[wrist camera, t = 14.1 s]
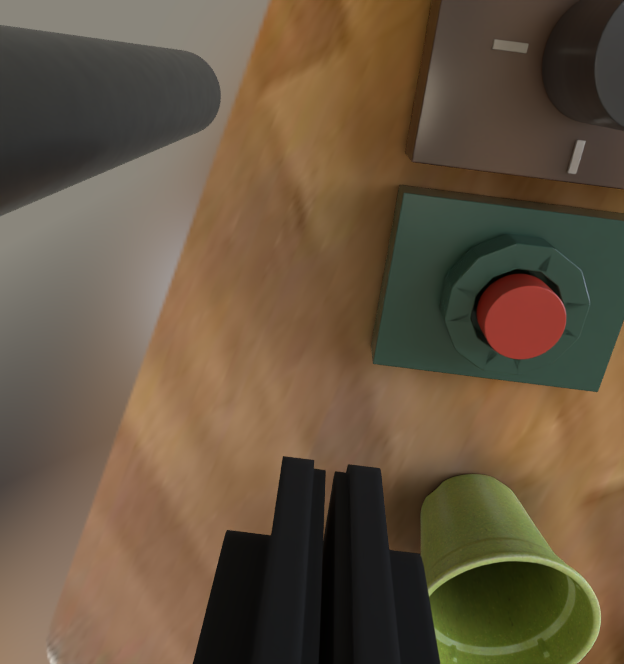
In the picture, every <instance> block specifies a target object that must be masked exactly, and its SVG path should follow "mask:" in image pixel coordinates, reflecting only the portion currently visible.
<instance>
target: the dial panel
mask: <svg viewBox="0 0 624 664" xmlns="http://www.w3.org/2000/svg"><path fill="white" fill-rule="evenodd" d="M579 1H580V0H432V3H431V8H430V14H429V20H428V25H427V31H426V37H425V42H424V48H423V54H422V59H421V65H420V71H419V76H418V82H417V88H416V93H415V99H414V105H413V110H412V116H411V122H410V127H409V133H408V139H407V144H406V150H405V154H406V155H407V156H408V157H409V159H410V160H411V161H412V162H416V163H423V164H431V165H439V166H447V167H455V168H462V169H470V170H478V171H486V172H493V173H501V174H509V175H517V176H524V177H532V178H540V179H548V180H556V181H563V182H571V183H579V184H587V185H594V186H602V187H610V188H618V189H624V131H621V130H616V129H612V128H607V127H602V126H597V125H592V124H587V123H583V122H578V121H575V120H573V119H571V118H569V117H567V116H565V115H564V114H563V113H561V112H560V111H559V110H558V109H557V108H556V107H555V106H554V105H553V103H552V102H551V100H550V99H549V97H548V95H547V92H546V90H545V87H544V83H543V77H542V62H543V55H544V50H545V47H546V44H547V41H548V39H549V37H550V34H551V32H552V31H553V29H554V27H555V25H556V24H557V23H558V21H559V20H560V19H561V17H562V16H563V15H564V14H565V13H566V12H567V11H568V10H569V9H570V8H571V7H572V6H573V5H574V4H576V3H577V2H579Z"/></svg>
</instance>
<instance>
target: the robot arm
mask: <svg viewBox="0 0 624 664" xmlns="http://www.w3.org/2000/svg"><path fill="white" fill-rule="evenodd" d="M325 474H326V471H325V470H320V469H314V460H309V459H301V458H293V457H285V456H283V459H282V466H281V473H280V480H279V486H278V493H277V500H276V507H275V513H274V520H273V527H272V534H271V535H263V534H255V533H247V532H239V531H231V530H227V531H226V534H225V537H224V541H223V545H222V549H221V553H220V557H219V561H218V565H217V569H216V573H215V577H214V581H213V585H212V589H211V593H210V597H209V601H208V605H207V609H206V613H205V617H204V621H203V625H202V629H201V633H200V637H199V641H198V645H197V649H196V653H195V658H194V662H193V664H440V658H439V652H438V646H437V640H436V634H435V629H434V623H433V617H432V611H431V605H430V599H429V593H428V588H427V582H426V576H425V570H424V565H423V561H422V557H421V556H420V554H417V553H409V552H401V551H393V550H389V544H388V534H387V525H386V515H385V505H384V496H383V486H382V476H381V470H380V468H373V467H365V466H357V465H348V467H347V471H346V473H344V472H336V471H335V474H334V479H333V485H332V491H331V497H330V503H329V509H328V515H327V521H326V528H325V534H324V540H323V531H324V502H325Z"/></svg>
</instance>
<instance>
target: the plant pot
mask: <svg viewBox="0 0 624 664" xmlns="http://www.w3.org/2000/svg"><path fill="white" fill-rule="evenodd" d="M420 516H421V557H422V561H423V565H424V570H425V576H426V582H427V588H428V593H429V599H430V605H431V611H432V617H433V623H434V629H435V634H436V640H437V646H438V652H439V658H440V664H577V663H578V662H580V661H581V660H582V659H583V657H585V655H586V654H587V653H588V652H589V650H590V649H591V648H592V646H593V644H594V642H595V641H596V638H597V636H598V633H599V629H600V624H601V612H600V606H599V603H598V600H597V598H596V595H595V593H594V591H593V590H592V588H591V587H590V585H589V584H588V583H587V581H586V580H585V579H584V578H583V577H582V576H581V575H580V574H579V573H578V572H577V571H575V570H574V569H573V568H571V567H570V566H568V565H566V564H565V563H564V562H563V561H562V560H561V559H560V558H559V557H558V556H556V555H555V554H554V552H553V551H552V549H551V548H550V546H549V545H548V544H547V542H546V541H545V539H544V538H543V536H542V535H541V533H540V532H539V530H538V529H537V527H536V526H535V524H534V523H533V521H532V520H531V518H530V517H529V515H528V514H527V512H526V511H525V509H524V508H523V506H522V505H521V503H520V502H519V500H518V499H517V497H516V496H515V494H514V493H513V492H512V490H511V489H509V488H508V487H507V486H505V485H504V484H503V483H501V482H499V481H498V480H497V479H495V478H493V477H490V476H487V475H482V474H465V475H460V476H456V477H452V478H450V479H447V480H445V481H444V482H442V483H441V485H440V486H439V487H438V488H437V489H436V490H435V491H433V492H432V493H431V494H430V495H428V496H427V497H426V498H425V500H424V502H423V504H422V508H421V515H420Z"/></svg>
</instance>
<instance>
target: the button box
mask: <svg viewBox="0 0 624 664" xmlns="http://www.w3.org/2000/svg"><path fill="white" fill-rule="evenodd" d="M511 274H528V275H532V276H535V277H537V278H539V279H540V280H542V281H543V282H544V283H545V284H546V285H547V286H548V287H549V288H550V289H551V290H552V291H553V292H554V293H555V294H556V295H557V296H558V297H559V298H560V300H561V301H562V303H563V305H564V307H565V311H566V325H565V329H564V331H563V334H562V335H561V337H560V339H559V340H558V342H557V343H556V344H555V345H554V346H553V347H552V348H551V349H549V350H548V351H546V352H545V353H543V354H541V355H539V356H536V357H533V358H529V359H512V358H508V357H505V356H503V355H501V354H499V353H498V352H496V351H495V350H494V349H493V348H492V347H491V346H490V344H489V343H488V341H487V339H486V337H485V336H484V334H483V332H482V330H481V328H480V326H479V324H478V321H477V315H476V313H477V305H478V302H479V299H480V297H481V295H482V294H483V292H484V291H485V290H486V289H487V287H489V286H490V285H491V284H492V283H493V282H495V281H496V280H498V279H500V278H502V277H504V276H507V275H511ZM623 321H624V213H616V212H608V211H600V210H592V209H585V208H577V207H569V206H561V205H554V204H546V203H538V202H530V201H522V200H515V199H507V198H499V197H491V196H483V195H476V194H468V193H460V192H452V191H444V190H437V189H429V188H421V187H413V186H406V185H399V190H398V195H397V201H396V207H395V212H394V218H393V224H392V229H391V235H390V241H389V246H388V252H387V258H386V263H385V269H384V275H383V280H382V286H381V292H380V297H379V303H378V309H377V314H376V320H375V326H374V331H373V337H372V343H371V351H372V360H373V364H379V365H386V366H394V367H402V368H410V369H418V370H426V371H434V372H442V373H450V374H458V375H466V376H474V377H482V378H490V379H498V380H506V381H514V382H522V383H530V384H538V385H546V386H553V387H561V388H569V389H577V390H585V391H593V392H598V390H599V387H600V384H601V382H602V379H603V376H604V373H605V371H606V368H607V365H608V362H609V360H610V357H611V354H612V351H613V349H614V346H615V343H616V340H617V337H618V335H619V332H620V329H621V326H622V324H623Z"/></svg>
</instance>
